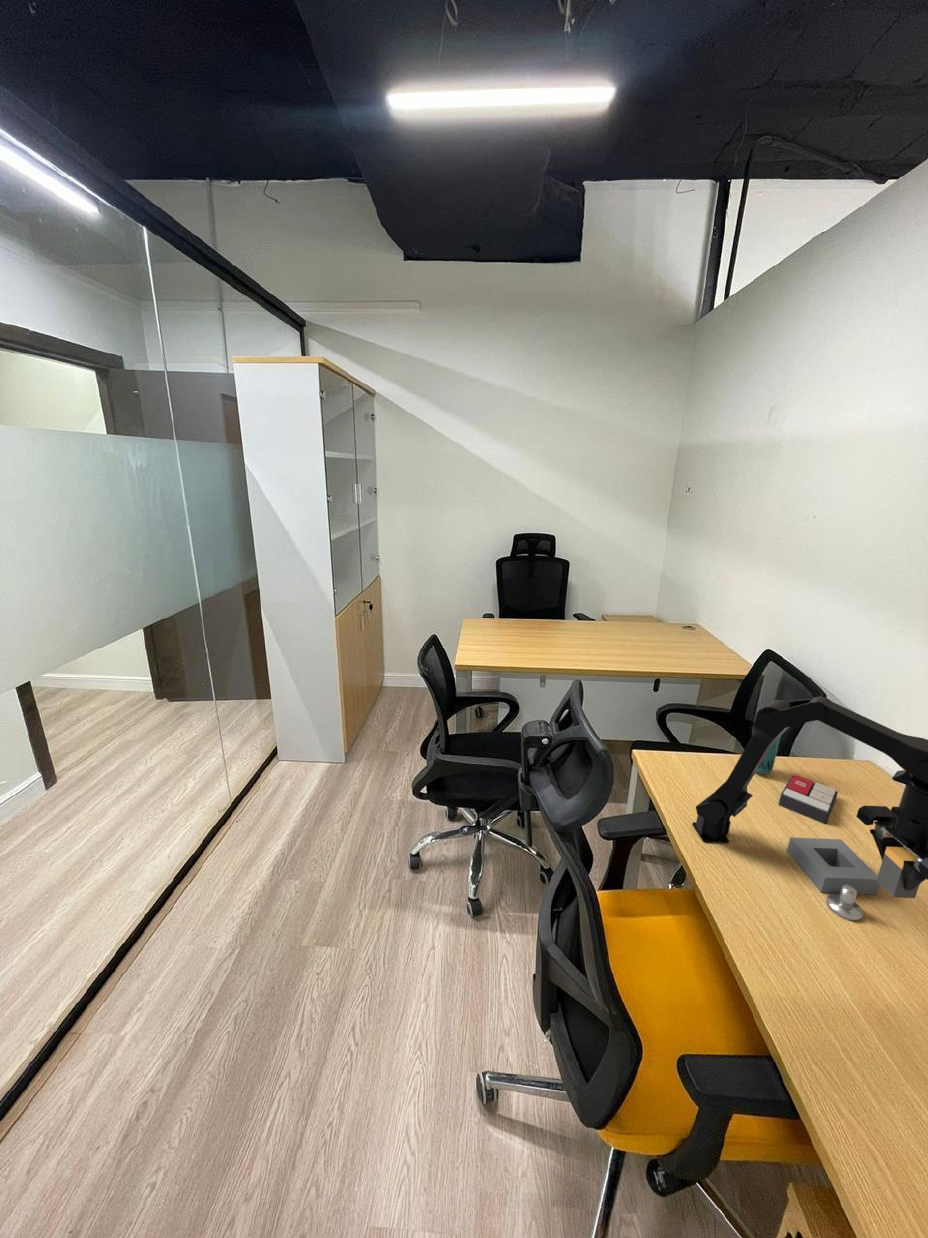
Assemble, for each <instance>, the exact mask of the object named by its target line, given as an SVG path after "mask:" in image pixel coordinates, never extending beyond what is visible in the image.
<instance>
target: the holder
mask: <svg viewBox="0 0 928 1238" xmlns="http://www.w3.org/2000/svg"><path fill="white" fill-rule="evenodd" d="M786 853H788V855H789V856H790V857H791V859H793V861H794V862H795V863H796V864H797V866H798V867H799V868H800V869H801V870H802V871H803V873H804V874H805V875H806V876H807V877H808V879H809V880H810V881H811V883H812V884H813V885H814V886H815V887H816V888H817V890H818V891H819V892H820V893H826V894H827V893H828V894H840V893H841V890H842V887H843V885H849V886H851V887H853V888H855V889H856V891H857V895H878V893H879V890H880V887H881V885H880V884H879V883H878V882H877V881H876V880H877V877H878V874H877V873H876V872H875V871H874V870H873V869H872V868H871V867H870V866H869V865H868V864H867V863H865V862H864V860H863V859H862V858H860V857H859V855H858V854H857V853H855V851H853V849H851V848H850V846H849V845H847V844H846V842H845V841H843V839H841V838H840V839H839V838H838V839H837V838H820V837H819V838H818V837H817V838H814V837H793V836H792V837H791V836H790V837H789V841H788V845H787V849H786ZM828 863H829V864H833V865H834V866H830V865H829V864H828Z"/></svg>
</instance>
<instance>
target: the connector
mask: <svg viewBox="0 0 928 1238" xmlns="http://www.w3.org/2000/svg"><path fill="white" fill-rule="evenodd" d="M915 859H917V856H915V855H914V854H913V853H912V852H910V851H909V850H908V849H907V848H906V847H886V850H885V854H884V857H883V860H882V859H881V865H880V867H879V871H878V874H877V875H878V877H877V880H876V881H877V882H878V883H879V884H880V887H882V888H883V889H884V890H885V891H886V892H887V893H888V894H889V895H890V896H891V897H892V898H897V899H898V898H899V899H916V896H917V893H918V890H919V887H920V884H921V883H920V884H919V885H918V886H917V887H915V888H914V889H913V890H911V891H909V890H905V889H904V883H903V875H904V861H915Z"/></svg>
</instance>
